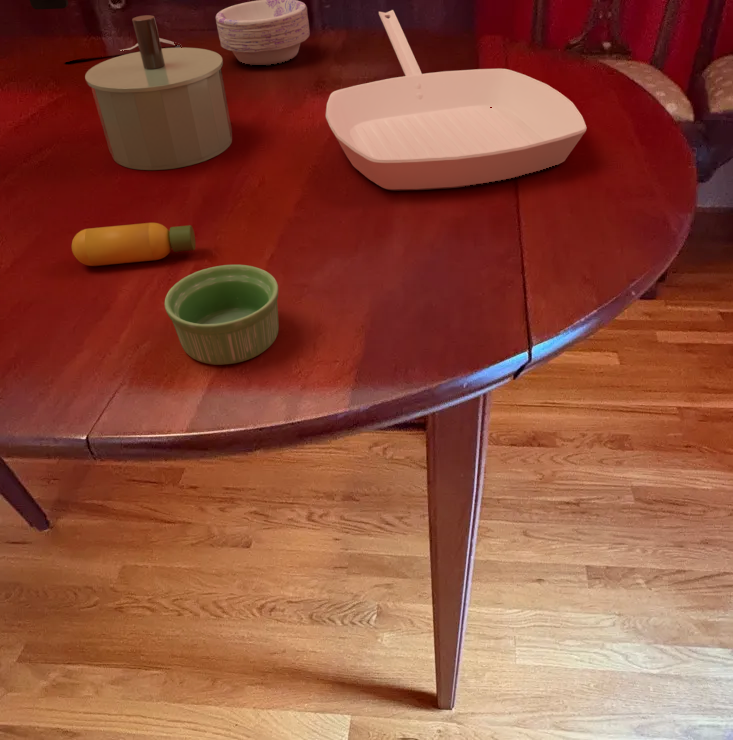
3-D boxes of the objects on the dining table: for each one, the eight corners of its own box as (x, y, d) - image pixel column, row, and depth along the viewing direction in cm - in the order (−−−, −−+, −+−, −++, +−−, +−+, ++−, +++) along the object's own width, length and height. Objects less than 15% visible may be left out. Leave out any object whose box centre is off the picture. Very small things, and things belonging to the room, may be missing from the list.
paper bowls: (205, 65, 123) (195, 14, 118) (266, 42, 133) (259, -6, 128) (269, 77, 116) (262, 23, 111) (330, 52, 125) (325, 2, 120)
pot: (101, 175, 88) (77, 96, 82) (123, 130, 101) (103, 58, 95) (229, 163, 89) (214, 84, 83) (235, 119, 101) (222, 48, 95)
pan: (358, 213, 76) (352, 125, 70) (296, 88, 111) (288, 21, 105) (613, 173, 80) (627, 86, 74) (476, 64, 115) (478, -1, 109)
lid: (73, 103, 82) (55, 42, 78) (101, 62, 95) (86, 8, 91) (219, 90, 83) (208, 29, 79) (227, 51, 96) (218, -4, 92)
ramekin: (299, 312, 62) (293, 268, 60) (261, 377, 56) (253, 331, 53) (204, 302, 64) (194, 259, 62) (157, 364, 58) (143, 319, 55)
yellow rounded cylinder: (74, 274, 70) (62, 241, 67) (82, 256, 73) (71, 223, 70) (195, 263, 70) (187, 229, 68) (198, 245, 73) (190, 212, 71)
